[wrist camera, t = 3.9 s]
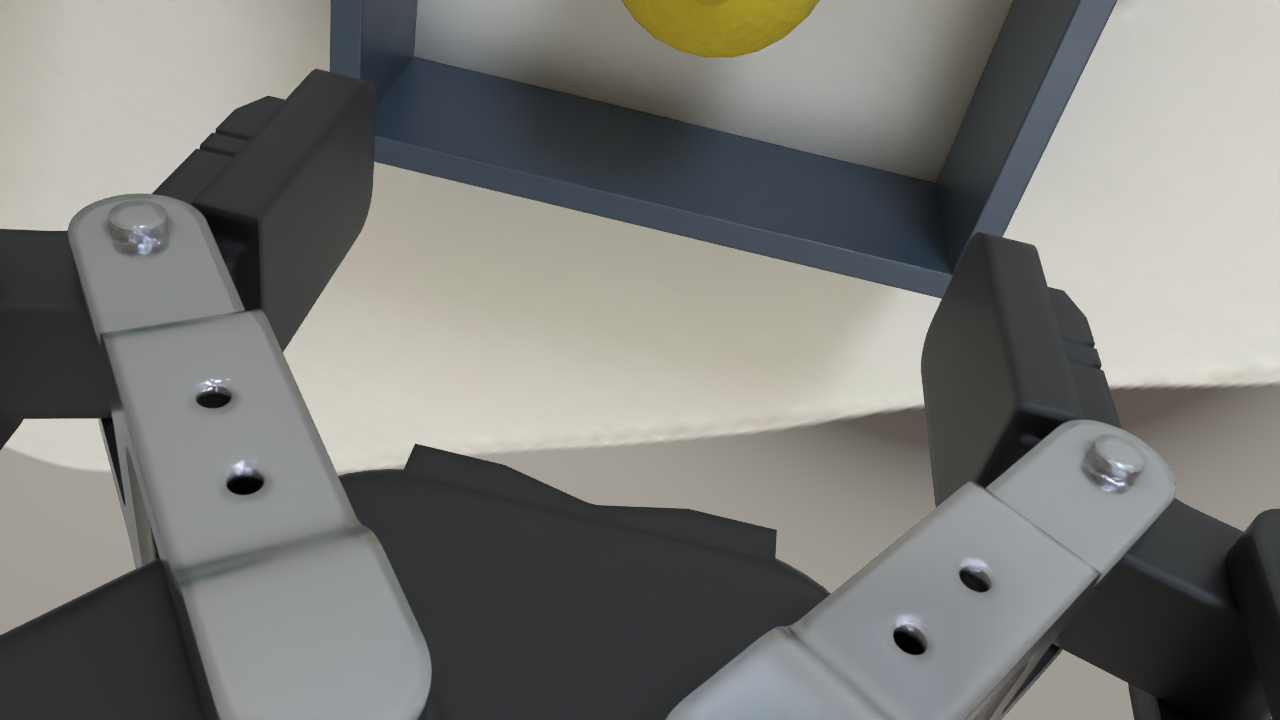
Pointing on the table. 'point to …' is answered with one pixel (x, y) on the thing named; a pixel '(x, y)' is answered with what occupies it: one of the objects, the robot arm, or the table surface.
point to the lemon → (719, 23)
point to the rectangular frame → (727, 151)
